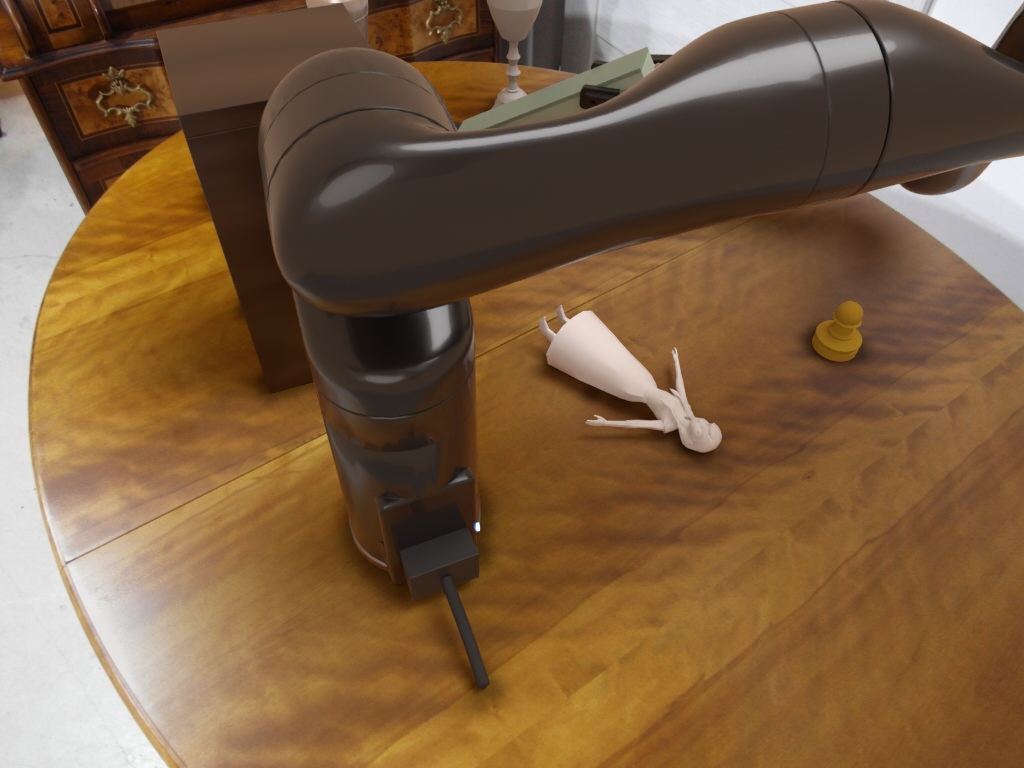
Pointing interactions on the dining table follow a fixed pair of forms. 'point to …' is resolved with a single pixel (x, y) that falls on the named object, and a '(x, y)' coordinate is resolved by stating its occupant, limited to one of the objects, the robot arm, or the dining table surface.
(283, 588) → the dining table surface
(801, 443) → the dining table surface
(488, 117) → the storage box
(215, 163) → the tall wooden pillar
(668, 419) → the woman figurine
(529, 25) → the chalice
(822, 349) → the chess piece
